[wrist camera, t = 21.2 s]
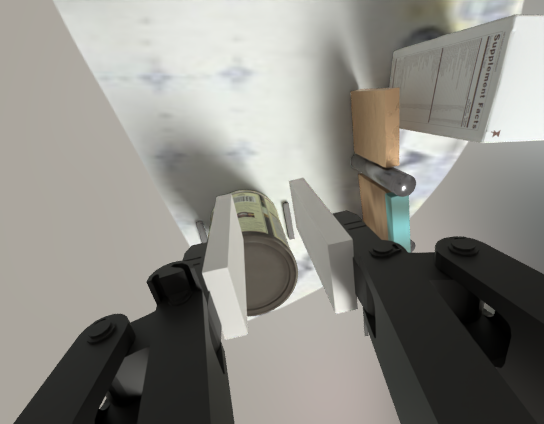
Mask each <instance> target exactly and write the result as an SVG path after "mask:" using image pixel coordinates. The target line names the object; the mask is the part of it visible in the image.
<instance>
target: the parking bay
mask: <svg viewBox="0 0 544 424" xmlns="http://www.w3.org/2000/svg"><path fill="white" fill-rule="evenodd" d="M283 207H284V213H285V218H286V224H287V230H288V235H289V239H295V238H294V232H293V226H292V220H291V215H290V209H289V203H288V202H287V203H283ZM196 225H197V228H198V231H199V234H200V237H201V240H202V243H206V242H207V235H206V232H205V229H204V226H203V223H202V221H200V222H197V223H196Z"/></svg>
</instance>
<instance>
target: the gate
mask: <svg viewBox="0 0 544 424" xmlns="http://www.w3.org/2000/svg"><path fill="white" fill-rule="evenodd" d="M358 178H359V187H360V196H361V205H362V214H363V222H364V223H365V224H366V225H367V226H368V227H369V228H370V229H371V230H372V231H373V232H374V233H375V234H376V235H377V236H378V237H379V238H380V239H381V240H388V241H393V242H396V243H398V244H400V245H402V246H403V247H404V248H405V249H406V250H407V252H409V253H411V248H410V220H409V195H408V196H405V197H400V196H398V195H396V194H394V193H393V192H391V191H390V190H388V189H386V188H385V187H383V186H382V185H380V184H378V183H377V182H375V181H374V180H372V179H370V178H369V177H367V176H366V175H364V174H362V173H361V174H358Z"/></svg>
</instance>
